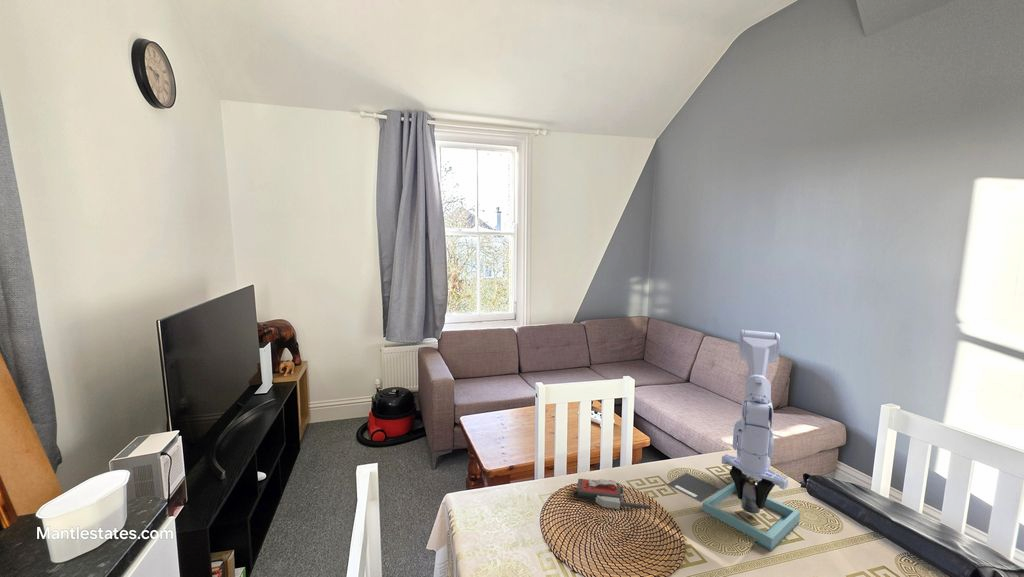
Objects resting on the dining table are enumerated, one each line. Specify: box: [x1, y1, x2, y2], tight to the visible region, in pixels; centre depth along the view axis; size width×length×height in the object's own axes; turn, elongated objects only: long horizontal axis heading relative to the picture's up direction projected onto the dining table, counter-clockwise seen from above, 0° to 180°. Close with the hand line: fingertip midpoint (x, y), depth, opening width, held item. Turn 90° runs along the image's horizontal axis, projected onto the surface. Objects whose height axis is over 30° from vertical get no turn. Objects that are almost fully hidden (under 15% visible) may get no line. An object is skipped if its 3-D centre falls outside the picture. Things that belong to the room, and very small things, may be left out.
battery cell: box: [740, 477, 761, 515], centre depth 102 cm, size 4×4×8 cm
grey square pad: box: [666, 472, 720, 503], centre depth 115 cm, size 10×10×1 cm
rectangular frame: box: [701, 481, 801, 552], centre depth 103 cm, size 16×16×3 cm
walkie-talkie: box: [572, 478, 652, 510], centre depth 110 cm, size 9×4×20 cm
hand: (750, 502), depth 102 cm, fingers closed on battery cell, 4 cm apart
